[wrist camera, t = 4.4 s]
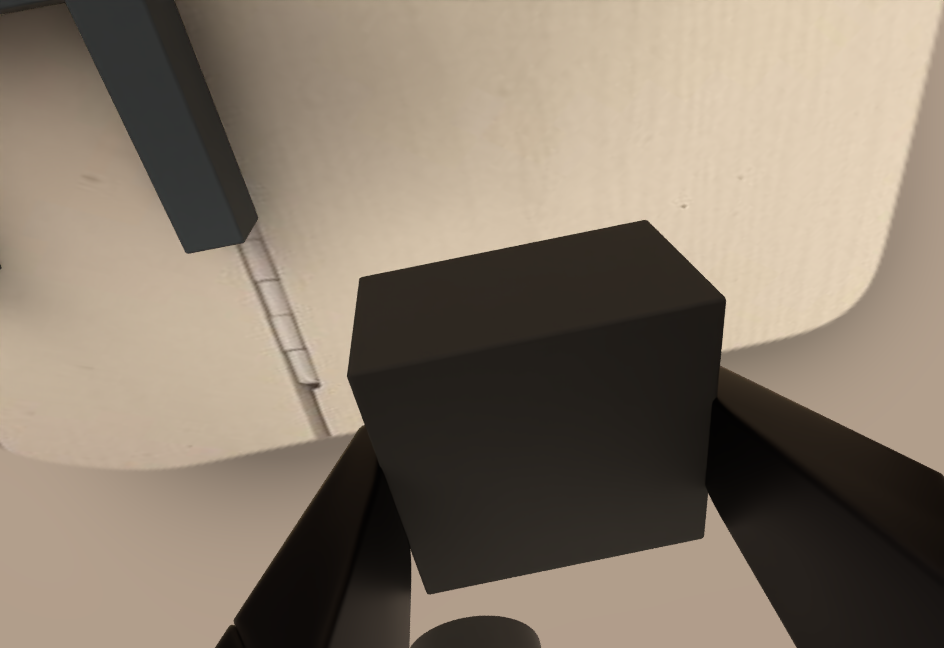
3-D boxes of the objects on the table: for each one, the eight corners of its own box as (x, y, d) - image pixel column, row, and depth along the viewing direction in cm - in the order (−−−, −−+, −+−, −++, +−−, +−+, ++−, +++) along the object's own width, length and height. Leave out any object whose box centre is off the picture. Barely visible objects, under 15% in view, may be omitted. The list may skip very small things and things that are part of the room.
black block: (421, 476, 11) (427, 596, 9) (358, 276, 9) (344, 375, 6) (646, 431, 11) (705, 539, 9) (646, 218, 9) (728, 297, 6)
